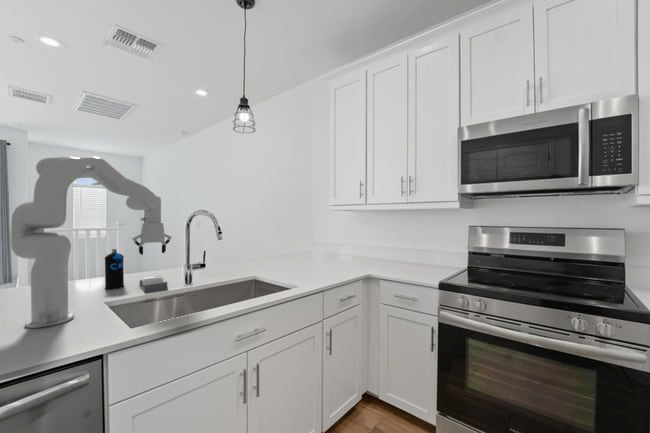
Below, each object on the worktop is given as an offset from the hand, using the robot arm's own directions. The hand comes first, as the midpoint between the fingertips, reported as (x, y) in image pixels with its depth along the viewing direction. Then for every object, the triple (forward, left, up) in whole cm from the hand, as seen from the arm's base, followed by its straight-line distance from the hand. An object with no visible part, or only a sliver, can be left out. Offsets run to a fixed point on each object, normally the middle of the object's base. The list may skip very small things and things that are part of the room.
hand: (152, 253), depth 149 cm
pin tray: (0, 0, -18) cm, 18 cm away
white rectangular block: (0, 0, -15) cm, 15 cm away
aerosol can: (+14, +15, -18) cm, 27 cm away
